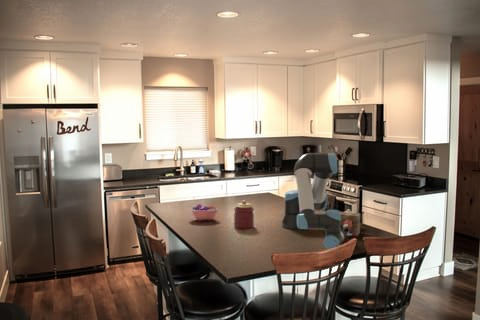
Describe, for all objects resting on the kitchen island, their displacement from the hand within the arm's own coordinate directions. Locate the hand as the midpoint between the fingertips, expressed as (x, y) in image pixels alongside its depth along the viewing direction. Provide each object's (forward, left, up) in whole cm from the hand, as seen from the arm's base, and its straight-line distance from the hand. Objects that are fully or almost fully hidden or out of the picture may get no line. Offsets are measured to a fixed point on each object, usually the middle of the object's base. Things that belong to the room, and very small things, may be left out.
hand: (346, 226), depth 253 cm
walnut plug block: (-5, +14, -7) cm, 17 cm away
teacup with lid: (-3, +29, -8) cm, 31 cm away
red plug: (0, +12, -3) cm, 12 cm away
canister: (-65, 0, -8) cm, 66 cm away
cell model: (-98, +6, -8) cm, 99 cm away
